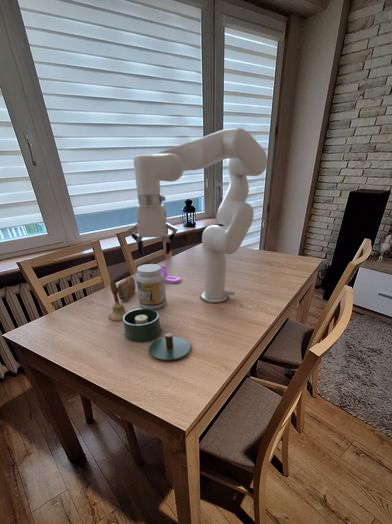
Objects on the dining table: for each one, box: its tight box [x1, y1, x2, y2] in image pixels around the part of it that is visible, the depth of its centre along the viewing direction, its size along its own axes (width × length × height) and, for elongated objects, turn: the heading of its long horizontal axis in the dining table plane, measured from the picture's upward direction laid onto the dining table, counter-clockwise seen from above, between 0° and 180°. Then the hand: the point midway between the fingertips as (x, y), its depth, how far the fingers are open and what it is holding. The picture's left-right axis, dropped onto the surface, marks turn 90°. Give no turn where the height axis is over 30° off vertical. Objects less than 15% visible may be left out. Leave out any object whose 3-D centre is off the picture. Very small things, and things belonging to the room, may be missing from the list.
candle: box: [135, 315, 148, 325], centre depth 103 cm, size 5×5×7 cm
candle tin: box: [122, 307, 162, 343], centre depth 103 cm, size 13×13×7 cm
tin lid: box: [148, 332, 191, 362], centre depth 94 cm, size 14×14×6 cm
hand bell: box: [109, 279, 129, 322], centre depth 112 cm, size 8×8×16 cm
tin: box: [117, 276, 136, 302], centre depth 131 cm, size 15×3×8 cm, turn 168°
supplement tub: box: [135, 263, 167, 310], centre depth 121 cm, size 12×12×17 cm
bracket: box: [160, 264, 181, 284], centre depth 148 cm, size 13×6×7 cm, turn 63°
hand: (155, 253), depth 101 cm, fingers open, 9 cm apart
